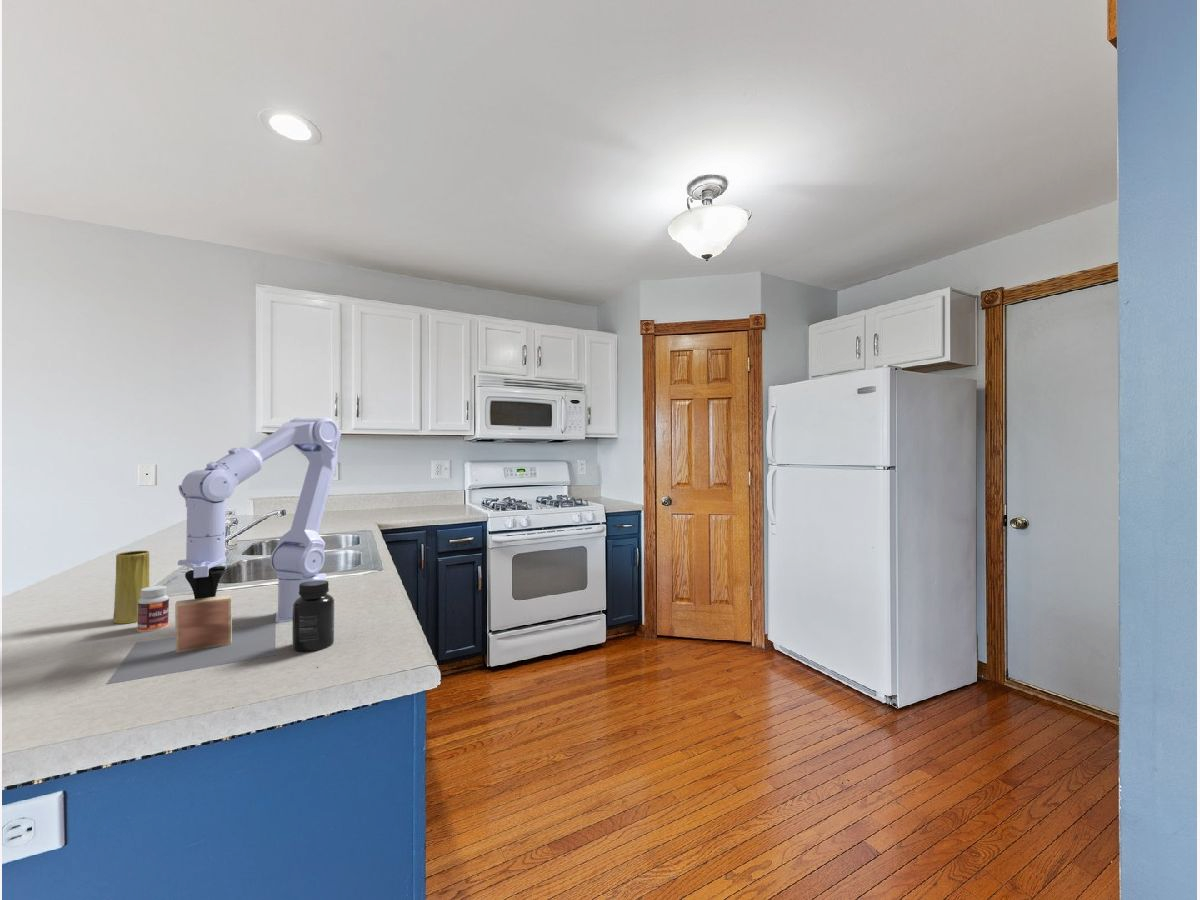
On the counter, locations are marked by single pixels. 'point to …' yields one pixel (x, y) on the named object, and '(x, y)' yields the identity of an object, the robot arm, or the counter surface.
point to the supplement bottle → (313, 617)
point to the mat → (195, 654)
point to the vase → (130, 584)
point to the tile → (203, 623)
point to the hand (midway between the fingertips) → (205, 608)
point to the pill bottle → (153, 609)
